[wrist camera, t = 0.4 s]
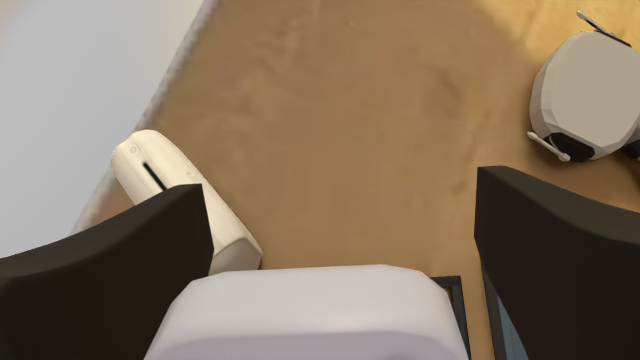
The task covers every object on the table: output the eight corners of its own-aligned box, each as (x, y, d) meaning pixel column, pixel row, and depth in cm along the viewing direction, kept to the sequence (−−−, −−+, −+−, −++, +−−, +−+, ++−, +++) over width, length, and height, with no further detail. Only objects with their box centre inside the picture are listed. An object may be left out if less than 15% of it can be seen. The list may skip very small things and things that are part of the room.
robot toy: (703, 104, 44) (548, 31, 44) (749, 83, 39) (577, 1, 40) (664, 226, 41) (499, 146, 41) (710, 218, 36) (524, 128, 37)
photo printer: (153, 199, 40) (83, 150, 29) (194, 166, 41) (143, 105, 29) (230, 295, 38) (190, 286, 26) (272, 258, 39) (251, 234, 27)
